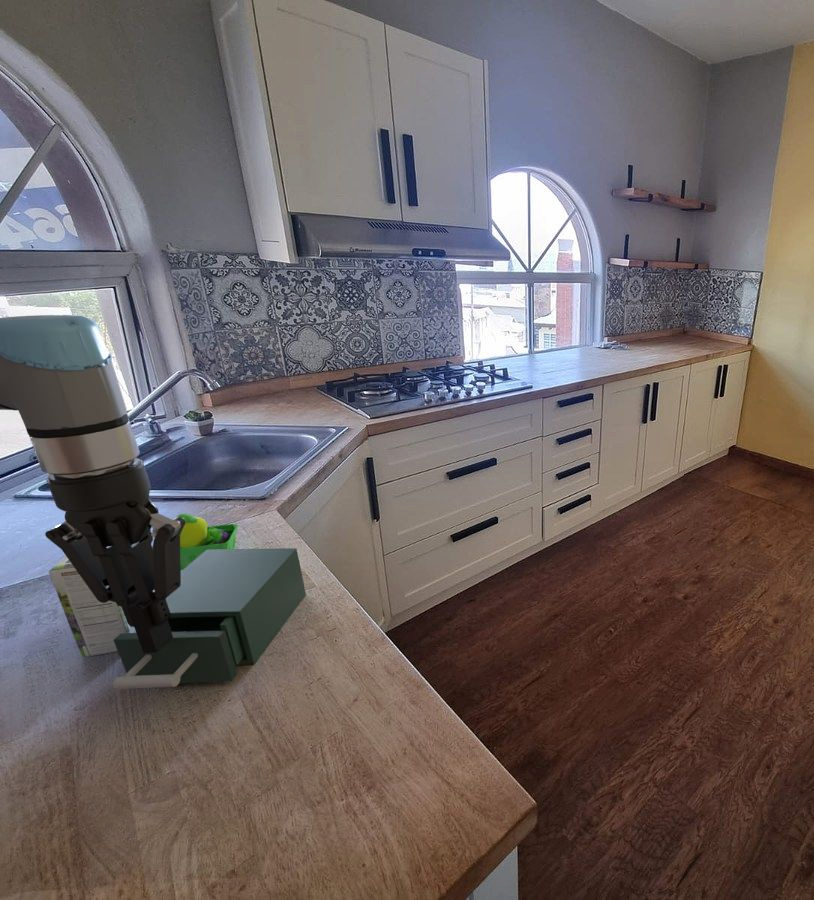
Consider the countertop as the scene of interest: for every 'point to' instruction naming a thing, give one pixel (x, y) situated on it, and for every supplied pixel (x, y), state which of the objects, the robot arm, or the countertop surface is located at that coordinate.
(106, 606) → the syrup box
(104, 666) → the countertop surface
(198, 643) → the green drawer
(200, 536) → the fruit basket
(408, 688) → the countertop surface
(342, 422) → the countertop surface
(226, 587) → the green drawer cabinet
